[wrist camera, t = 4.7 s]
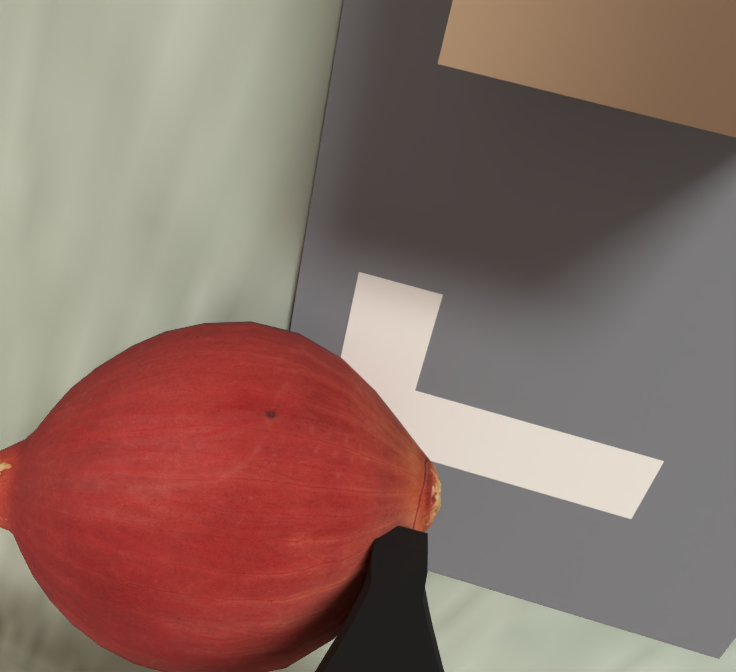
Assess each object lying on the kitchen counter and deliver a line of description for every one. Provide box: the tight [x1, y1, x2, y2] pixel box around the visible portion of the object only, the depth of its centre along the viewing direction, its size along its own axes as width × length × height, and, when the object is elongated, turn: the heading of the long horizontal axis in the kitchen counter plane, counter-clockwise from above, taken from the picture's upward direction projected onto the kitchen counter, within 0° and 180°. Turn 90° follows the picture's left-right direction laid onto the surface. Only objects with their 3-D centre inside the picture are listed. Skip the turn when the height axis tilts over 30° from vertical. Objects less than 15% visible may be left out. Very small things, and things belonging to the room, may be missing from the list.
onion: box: [0, 322, 442, 672], centre depth 12 cm, size 6×6×8 cm
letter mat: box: [290, 0, 736, 659], centre depth 11 cm, size 11×18×1 cm, turn 168°
